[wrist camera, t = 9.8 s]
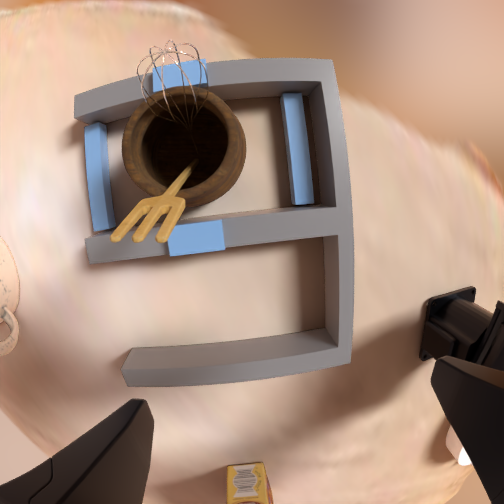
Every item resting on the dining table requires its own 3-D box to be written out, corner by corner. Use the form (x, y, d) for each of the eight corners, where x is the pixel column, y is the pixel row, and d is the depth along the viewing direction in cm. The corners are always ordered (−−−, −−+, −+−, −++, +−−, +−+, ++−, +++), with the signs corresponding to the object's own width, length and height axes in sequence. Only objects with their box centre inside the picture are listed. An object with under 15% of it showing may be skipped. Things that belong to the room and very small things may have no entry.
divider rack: (318, 76, 17) (335, 56, 13) (337, 342, 21) (353, 367, 17) (91, 107, 16) (67, 94, 12) (135, 364, 20) (122, 391, 17)
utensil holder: (244, 114, 17) (267, 9, 5) (241, 209, 18) (260, 245, 7) (156, 116, 16) (64, 33, 5) (152, 208, 18) (42, 242, 6)
